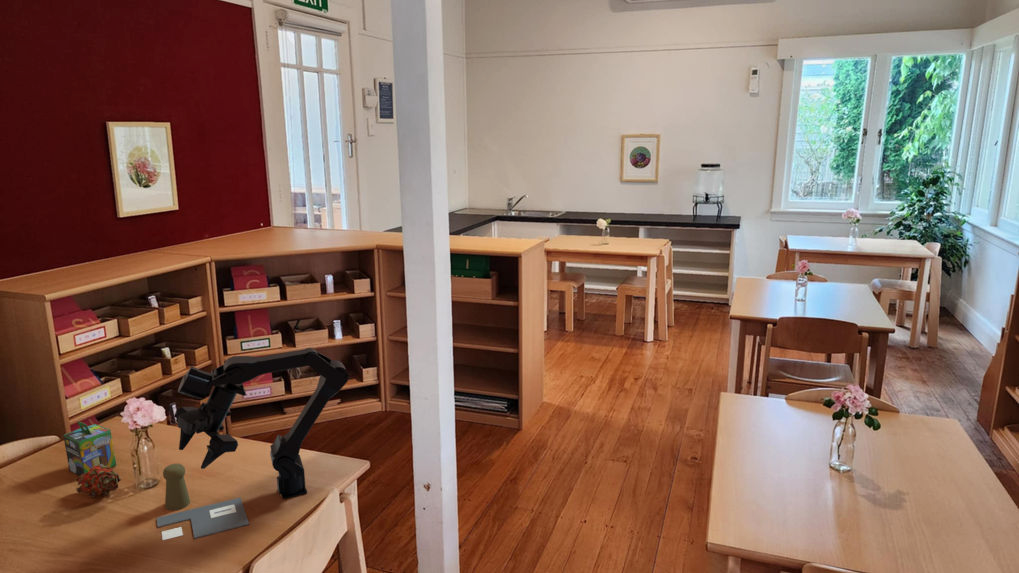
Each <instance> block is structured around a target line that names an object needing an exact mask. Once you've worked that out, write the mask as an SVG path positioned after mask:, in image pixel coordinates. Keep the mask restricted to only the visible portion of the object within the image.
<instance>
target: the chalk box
mask: <svg viewBox="0 0 1019 573" xmlns="http://www.w3.org/2000/svg"><path fill="white" fill-rule="evenodd" d="M77 424H78V426H79V428H77V429H75V430H73V431H70V432H67V433H65V434H63V435H62V436H63V441H64V447H65V452H66V459H67V465H68V466H67V467H68V471H70V472H72V473H73V474H75V475H77V476H78V477H79V476H81V475H83V474H84V473H87V472H89V471H90V469H91V468H92V467H93V466H97V465H100V466H109V467H110V468H113V467H116V466H117V460H116V455H115V450H114V449H115V448H114V443H113V436H112V430H111V429H109V428H107V427H104V426H101V425H99V424H96V423H94V424H91V425H87V424H86V423H84V422H81V421H79V420H77Z"/></svg>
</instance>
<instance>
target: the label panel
mask: <svg viewBox="0 0 1019 573" xmlns="http://www.w3.org/2000/svg"><path fill="white" fill-rule="evenodd" d="M248 519H249V518H248V516H247V514H246V510H245V507H244V504H243V500H242V498H241V497H236V498H233V499H228V500H224V501H220V502H215V503H212V504H208V505H207V504H206V505H204V506H199V507H195V508H191V509H186V510H183V511H179V512H174V513H170V514H166V515H162V516H157V517H156V525H157V528H163V527H166V526H170V525H173V524H177V523H182V522H186V521H190V522H191V528H192V533H193V539H194V540H196V539H200V538H203V537H207V536H211V535H214V534H218V533H222V532H226V531H230V530H234V529H238V528H242V527H246V526H249V525H250V523H249V520H248ZM161 536H162V537H161V539H162V541H166V540H169V539H173V538H178V537H181V536H184V532H183V528H182V526H180V527H176V528H171V529H167V530H162V531H161Z"/></svg>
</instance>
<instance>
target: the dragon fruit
mask: <svg viewBox="0 0 1019 573" xmlns="http://www.w3.org/2000/svg"><path fill="white" fill-rule="evenodd" d="M120 481H122V479H121V478H120V475H119V473H118V472H116V471H115V470H114V468H113V467H111V468H110V467H109V466H100V465H97V466H93V467H92V468H91V469H90V471H89V472H87V473H84V474H83V475H81V476H79V475H78V477H77V479H76V481H75V482H77V486H79V487H76V488H75V490H76V492H77V493H78V494H80V493H87V492H88V496H89V497H90V498H95V497H96V496H98V495H99V496H101V497H102V496H107V495H110V492H115V491H116V490H118V489H119V483H120ZM75 482H73V483H75Z"/></svg>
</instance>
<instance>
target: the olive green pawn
mask: <svg viewBox="0 0 1019 573" xmlns="http://www.w3.org/2000/svg"><path fill="white" fill-rule="evenodd" d="M185 475H186V467H185V466H184V465H183V464H181V463H172V464H169V465H167V466H166V467H165V468H164V469H163V470H162V477H163V478H164V479H165V498H164V499H165V502H164V505H165V506H164V507H165V509H166V510H167V511H180V510H182V509H185V508H187V507H188V506H189V505H190V504H191V499H190V495H189V491H188V487H187V483H186V479H185Z"/></svg>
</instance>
